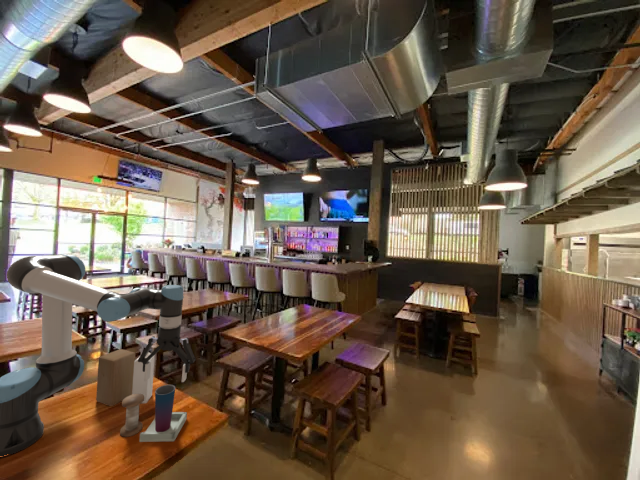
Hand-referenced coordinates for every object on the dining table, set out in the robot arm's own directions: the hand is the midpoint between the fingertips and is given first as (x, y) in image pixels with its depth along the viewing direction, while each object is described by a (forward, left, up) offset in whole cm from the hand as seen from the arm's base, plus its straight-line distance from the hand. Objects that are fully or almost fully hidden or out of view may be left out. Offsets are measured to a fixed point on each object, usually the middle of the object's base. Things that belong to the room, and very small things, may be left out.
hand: (165, 380), depth 103 cm
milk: (-17, +19, -20) cm, 32 cm away
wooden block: (-29, +20, -20) cm, 40 cm away
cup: (0, 0, -19) cm, 19 cm away
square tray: (+1, 0, -20) cm, 19 cm away
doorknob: (-11, 0, -20) cm, 22 cm away
